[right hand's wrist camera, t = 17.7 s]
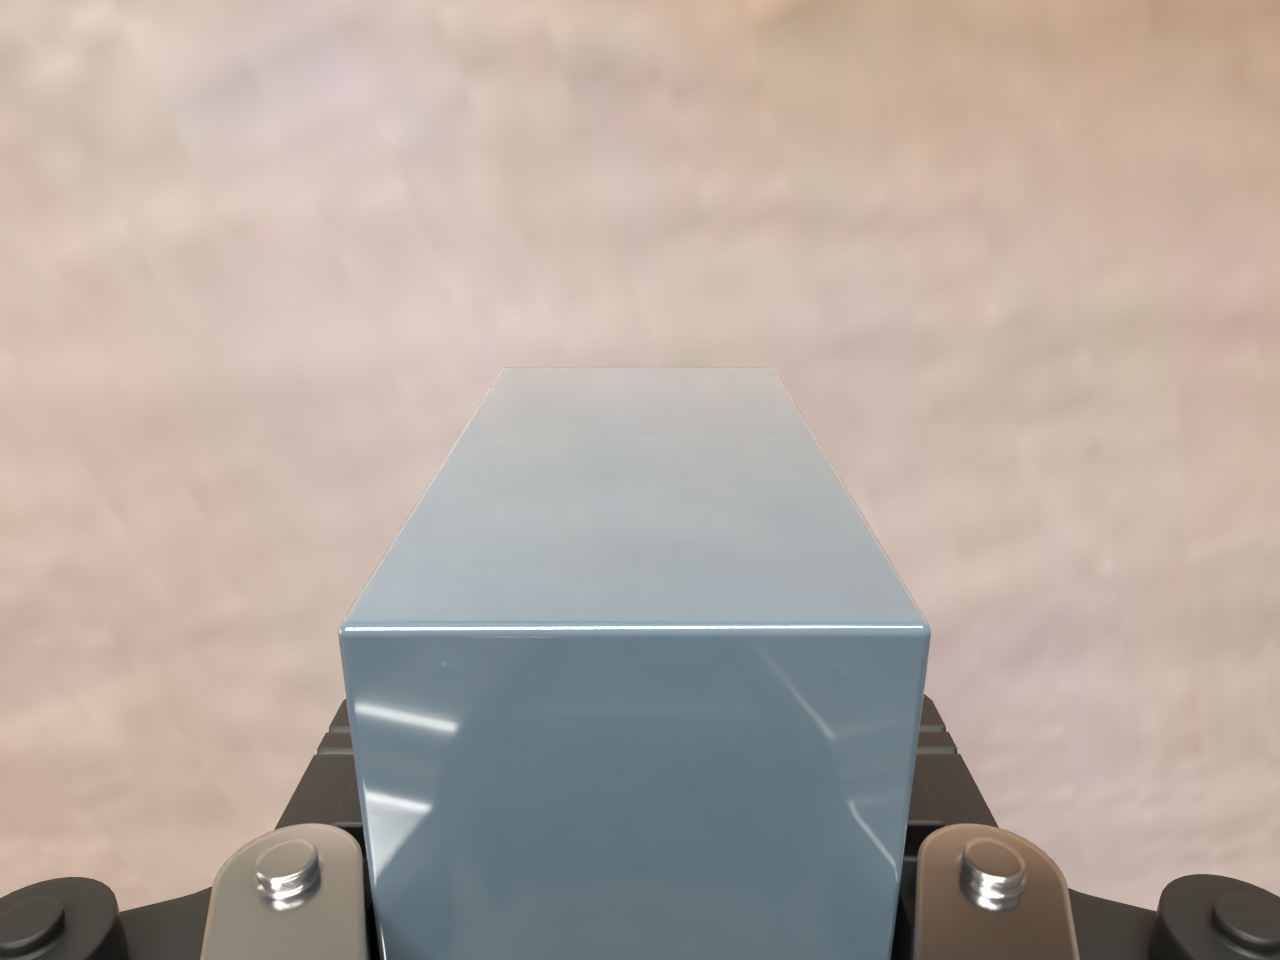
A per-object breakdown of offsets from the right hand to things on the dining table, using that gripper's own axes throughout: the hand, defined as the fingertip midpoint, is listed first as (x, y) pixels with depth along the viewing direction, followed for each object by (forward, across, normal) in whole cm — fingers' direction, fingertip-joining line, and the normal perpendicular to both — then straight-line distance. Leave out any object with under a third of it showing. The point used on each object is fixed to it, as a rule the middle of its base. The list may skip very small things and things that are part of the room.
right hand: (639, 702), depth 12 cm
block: (+4, 0, 0) cm, 4 cm away
